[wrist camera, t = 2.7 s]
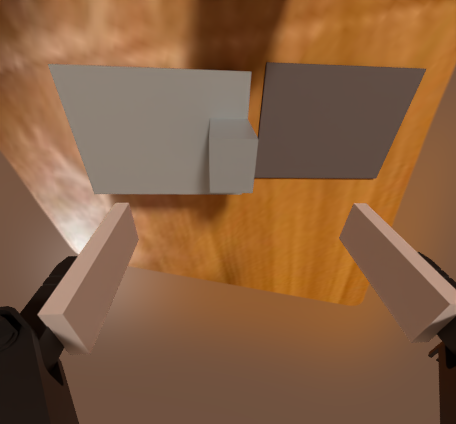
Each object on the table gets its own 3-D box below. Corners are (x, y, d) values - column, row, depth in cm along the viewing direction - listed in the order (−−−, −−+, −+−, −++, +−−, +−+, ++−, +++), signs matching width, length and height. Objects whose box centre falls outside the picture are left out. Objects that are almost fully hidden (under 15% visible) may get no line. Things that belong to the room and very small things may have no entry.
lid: (101, 185, 30) (63, 229, 22) (61, 63, 22) (-19, 67, 14) (240, 186, 31) (248, 228, 23) (248, 70, 23) (265, 77, 16)
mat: (253, 176, 35) (254, 177, 35) (266, 62, 27) (267, 62, 26) (374, 177, 36) (375, 178, 36) (423, 68, 28) (426, 68, 27)
